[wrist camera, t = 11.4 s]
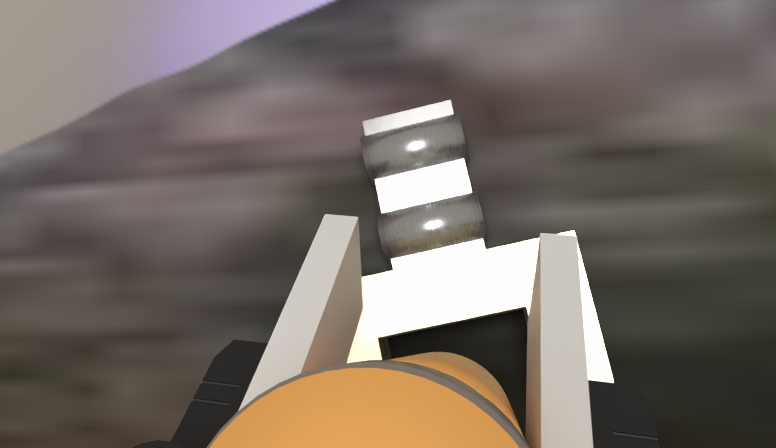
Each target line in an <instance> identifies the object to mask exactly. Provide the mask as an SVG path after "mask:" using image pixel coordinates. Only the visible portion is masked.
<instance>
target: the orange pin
mask: <svg viewBox="0 0 776 448" xmlns="http://www.w3.org/2000/svg"><path fill="white" fill-rule="evenodd" d="M207 448H530V446H529V445H528V443H527V441H526V440H525V438H524V436H523V434H522V432H521V429H520V427H519V425H518V422H517V420H516V417H515V415H514V413H513V410H512V408H511V406H510V403H509V401H508V399H507V396H506V394H505V392H504V391H503V389H502V387H501V386H500V384H499V383H498V382H497V381H496V379H495V378H494V377H493V376H492V375H491V374H490V373H489V372H488V371H487V370H486V369H485V368H483V367H482V366H481V365H479V364H478V363H476V362H474V361H472V360H471V359H468V358H466V357H464V356H461V355H457V354H453V353H447V352H429V353H422V354H417V355H411V356H406V357H401V358H395V359H390V360H366V361H359V362H352V363H345V364H338V365H332V366H326V367H322V368H318V369H315V370H311V371H308V372H304V373H301V374H299V375H296V376H294V377H292V378H289V379H287V380H285V381H282V382H280V383H278V384H276V385H275V386H273V387H271V388H270V389H268V390H266V391H265V392H263V393H261V394H260V395H258V396H257V397H255V398H254V399H253V400H252V401H250V402H249V403H248V404H247V405H245V406H244V407H243V408H242V409H240V410H239V411H238V412H237V413H236V414H235V415H234V416H233V417H232V418H231V419H230V420H229V421H228V422H227V423H226V424H225V425H224V426H223V427H222V428H221V429H220V430H219V432H218V433H217V434H216V436H215V437H214V438H213V440H212V441H211V442H210V444H209V445H208V446H207Z"/></svg>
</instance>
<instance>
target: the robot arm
mask: <svg viewBox="0 0 776 448" xmlns="http://www.w3.org/2000/svg"><path fill="white" fill-rule="evenodd" d="M362 311H363V295H362V276H361V258H360V239H359V221H358V217H352V216H341V215H329V214H325V215H324V218H323V220H322V222H321V225H320V227H319V229H318V231H317V234H316V236H315V238H314V240H313V243H312V245H311V247H310V250H309V252H308V254H307V256H306V259H305V261H304V263H303V265H302V268H301V270H300V272H299V274H298V277H297V279H296V281H295V284H294V286H293V288H292V290H291V293H290V295H289V297H288V299H287V302H286V304H285V306H284V308H283V311H282V313H281V315H280V318H279V320H278V322H277V324H276V327H275V329H274V331H273V333H272V336H271V338H270V340H269V342H268V344H267V343H259V342H251V341H242V340H233V341H232V342H231V343H230V344H229V345H228V346H227V347H225V348H224V349H223V350H222V351H221V352H220V353H219V354H218V355H217V356H216V357H214V359H213V361H212V363H211V365H210V367H209V369H208V371H207V373H206V375H205V376H204V378H203V383H202V384H200V386H199V388H198V390H197V392H196V394H195V396H194V400H193V402H191V404H190V405H189V407H188V409H187V411H186V413H185V415H184V417H183V419H182V421H181V423H180V425H179V427H178V429H177V431H176V433H175V434H174V436H173V438H172V440H171V442H167V441H160V440H157V441H152V442H147V443H141V444H139V445H137V446H135V447H133V448H207V446H208V445H209V444H210V442H211V441H212V440H213V438H214V437H215V436H216V434H217V433H218V432H219V430H220V429H221V428H222V427H223V426H224V425H225V424H226V423H227V422H228V421H229V420H230V419H231V418H232V417H233V416H234V415H235V414H236V413H237V412H238V411H239V410H240V409H242V408H243V407H244V406H245V405H247V404H248V403H249V402H250V401H252V400H253V399H254V398H255V397H257V396H258V395H260V394H261V393H263V392H265V391H266V390H268V389H270V388H271V387H273V386H275V385H276V384H278V383H280V382H282V381H285V380H287V379H289V378H292V377H294V376H296V375H299V374H301V373H304V372H308V371H311V370H315V369H318V368H322V367H326V366H332V365H338V364H345V363H347V360H348V357H349V354H350V350H351V347H352V344H353V341H354V337H355V334H356V331H357V327H358V324H359V321H360V317H361V314H362ZM525 440H526V441H527V443H528V445H529V446H530V448H660V444H659V442H658V432H657V426H656V421H655V415H654V410H653V408H652V407H651V405H650V404H649V402H648V401H647V399H646V398H645V396H644V395H643V393H642V392H641V390H640V389H639V387H638V386H635V385H627V384H618V383H610V382H601V381H593V380H588V373H587V360H586V347H585V334H584V321H583V308H582V295H581V283H580V270H579V257H578V244H577V236H570V235H559V234H547V233H540V238H539V246H538V253H537V260H536V268H535V275H534V282H533V289H532V297H531V304H530V311H529V318H528V326H527V380H526V437H525Z"/></svg>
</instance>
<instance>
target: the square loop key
mask: <svg viewBox="0 0 776 448" xmlns="http://www.w3.org/2000/svg"><path fill="white" fill-rule="evenodd" d="M363 126H364V131H365V136H362V137H361V148H362V153H363V158H364V162H365V166H366V170H367V173H368V176H369V179H370V181H371V184H372V185H374V184H376V189H377V194H378V199H379V204H380V209H381V213H380V214H377V225H378V231H379V236H380V241H381V245H382V249H383V252H384V255H385V258H386V260H387V262H388V263H391V262H392V267H393V270H392V271H388V272H383V273H379V274H374V275H370V276H365V277H362V295H363V311H362V314H361V317H360V321H359V324H358V327H357V331H356V334H355V337H354V341H353V344H352V347H351V350H350V354H349V357H348V360H347V363H352V362H359V361H366V360H390V359H392V355H391V350H390V345H389V340H388V338H390V337H395V336H399V335H404V334H409V333H413V332H418V331H423V330H428V329H432V328H437V327H442V326H447V325H451V324H456V323H461V322H466V321H470V320H475V319H480V318H484V317H489V316H494V315H499V314H503V313H508V312H513V311H518V310H522V309H523V313H524V317H525V322H526V326H528V318H529V311H530V304H531V297H532V289H533V282H534V275H535V268H536V260H537V253H538V246H539V238H536V239H532V240H527V241H523V242H518V243H514V244H509V245H505V246H500V247H496V248H491V249H487V250H486V249H485V245H484V242H486V241H488V237H487V232H486V227H485V222H484V218H483V213H482V209H481V205H480V201H479V197H478V194H477V191H475V192H472V190H471V186H470V181H469V177H468V173H467V169H466V164H465V163H467V162H469V156H468V151H467V146H466V142H465V137H464V133H463V129H462V125H461V121H460V117H459V114H458V113H456V114H454V113H453V109H452V105H451V100H448V101H444V102H440V103H436V104H431V105H427V106H423V107H419V108H415V109H411V110H407V111H403V112H399V113H395V114H391V115H387V116H383V117H379V118H375V119H371V120H367V121H363ZM559 235H570V236H576V235H575V231H574V230H572V231H568V232H563V233H559ZM577 244H578V242H577ZM578 257H579V270H580V283H581V295H582V308H583V321H584V334H585V347H586V360H587V373H588V380H593V381H601V382H610V383H614V380H613V376H612V372H611V368H610V364H609V361H608V357H607V353H606V349H605V345H604V342H603V338H602V334H601V330H600V326H599V323H598V319H597V315H596V311H595V307H594V303H593V300H592V296H591V292H590V288H589V284H588V281H587V277H586V273H585V269H584V265H583V262H582V258H581V254H580V250H579V246H578Z"/></svg>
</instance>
